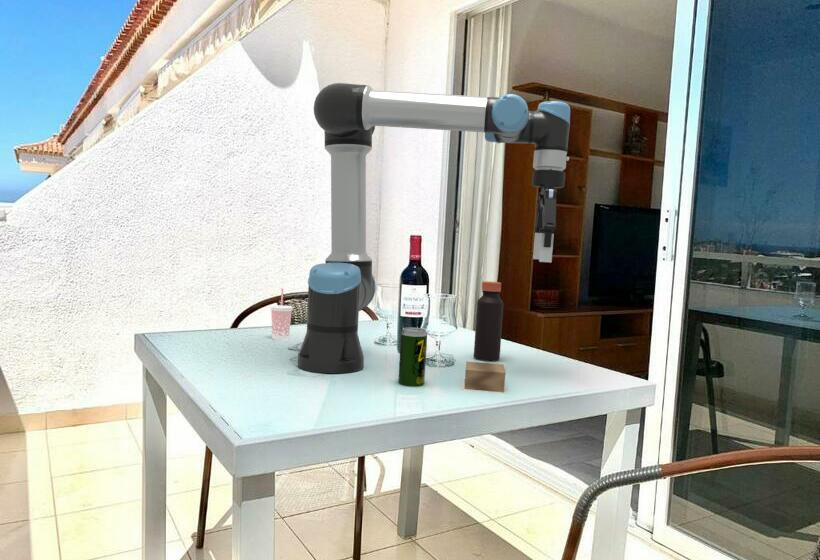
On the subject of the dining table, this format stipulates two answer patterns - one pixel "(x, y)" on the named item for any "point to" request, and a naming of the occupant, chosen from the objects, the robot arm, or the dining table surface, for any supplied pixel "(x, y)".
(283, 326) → the beverage cup
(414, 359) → the beer can
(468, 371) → the walnut block
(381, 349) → the dining table surface
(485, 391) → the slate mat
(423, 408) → the dining table surface
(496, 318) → the bottle
